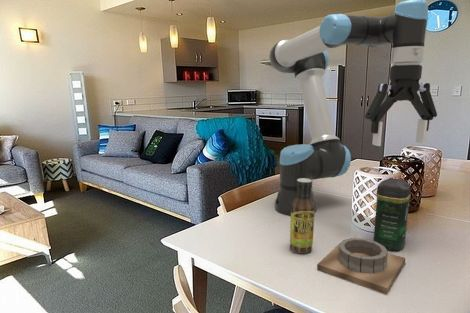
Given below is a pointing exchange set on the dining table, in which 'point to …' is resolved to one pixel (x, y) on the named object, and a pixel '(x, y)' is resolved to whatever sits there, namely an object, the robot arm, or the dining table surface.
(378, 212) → the coffee jar
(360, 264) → the ring collar
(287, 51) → the robot arm
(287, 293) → the dining table surface
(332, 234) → the dining table surface
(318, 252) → the dining table surface
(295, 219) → the sauce bottle
